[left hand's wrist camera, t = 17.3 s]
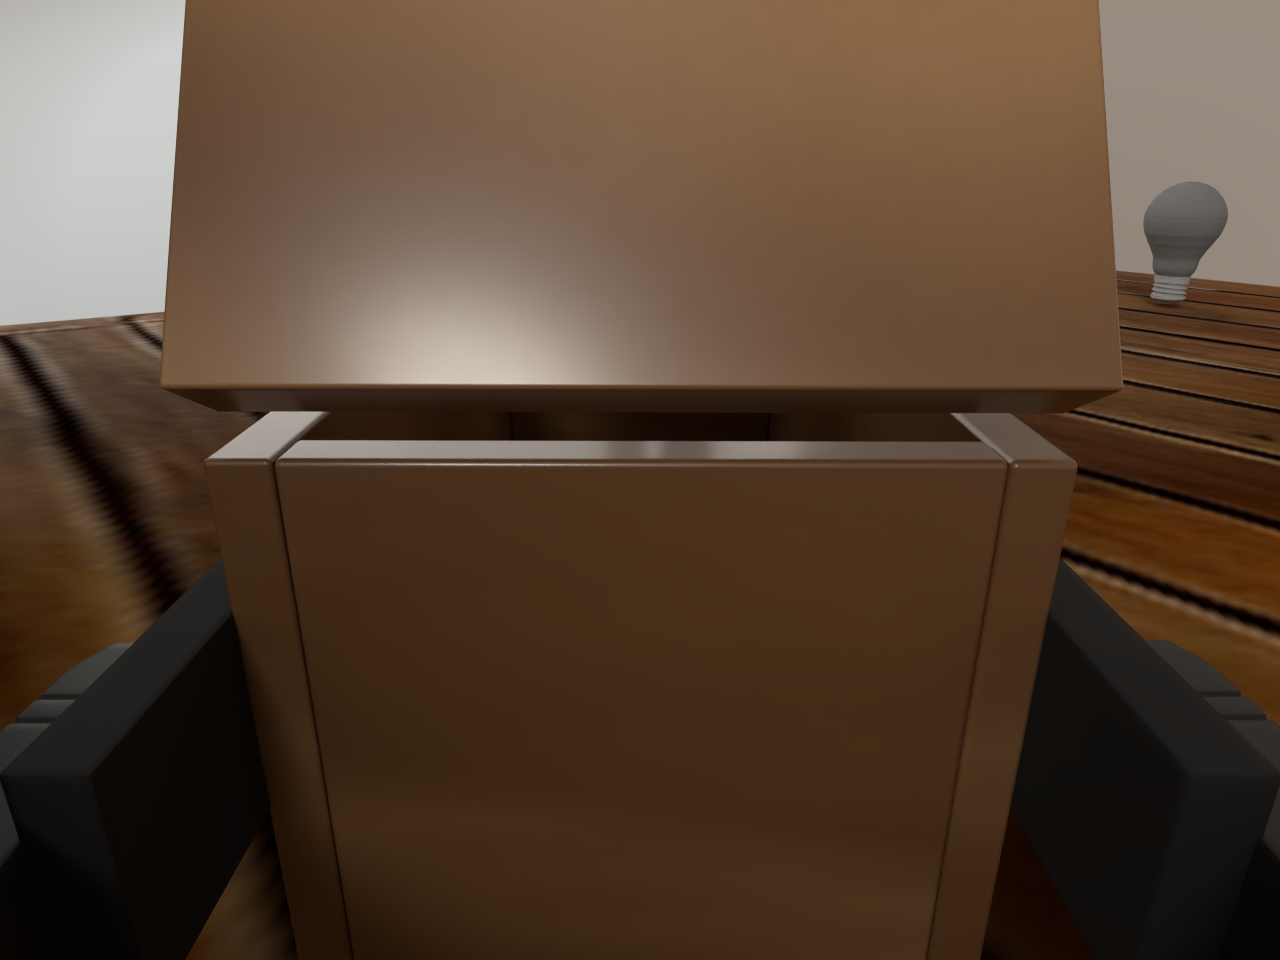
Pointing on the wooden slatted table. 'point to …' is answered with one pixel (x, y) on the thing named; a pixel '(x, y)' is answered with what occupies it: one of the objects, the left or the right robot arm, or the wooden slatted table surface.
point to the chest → (640, 676)
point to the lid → (642, 207)
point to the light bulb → (1181, 235)
